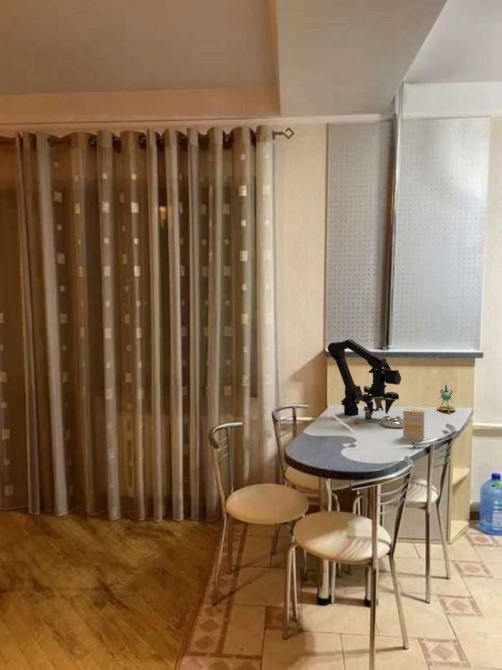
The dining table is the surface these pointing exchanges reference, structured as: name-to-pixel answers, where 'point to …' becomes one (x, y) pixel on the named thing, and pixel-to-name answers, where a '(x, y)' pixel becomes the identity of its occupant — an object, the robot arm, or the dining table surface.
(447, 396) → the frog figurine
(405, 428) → the supplement box
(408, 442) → the dining table surface
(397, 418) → the gear crank handle
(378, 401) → the portable electronic device stand
